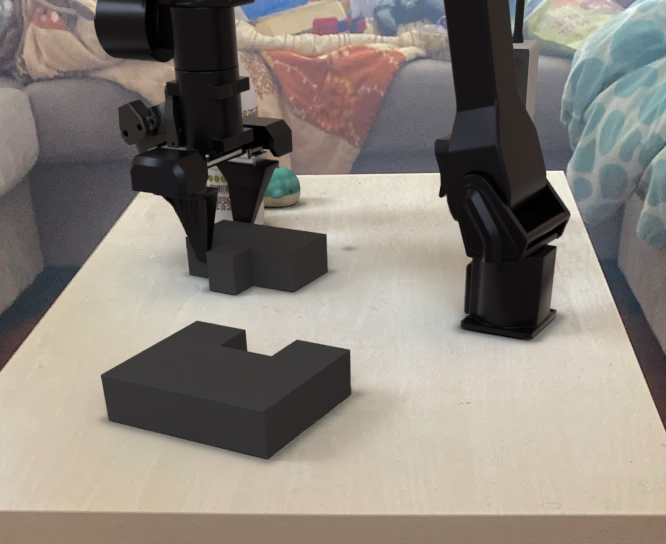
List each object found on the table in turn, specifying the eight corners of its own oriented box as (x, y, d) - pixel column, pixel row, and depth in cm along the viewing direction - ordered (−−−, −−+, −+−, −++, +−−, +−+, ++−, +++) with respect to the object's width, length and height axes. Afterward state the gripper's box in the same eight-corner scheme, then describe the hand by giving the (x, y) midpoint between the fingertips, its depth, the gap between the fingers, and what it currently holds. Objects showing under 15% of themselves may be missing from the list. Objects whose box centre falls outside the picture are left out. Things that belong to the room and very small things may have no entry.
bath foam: (265, 234, 111) (250, 9, 98) (200, 237, 111) (177, 12, 98) (265, 216, 116) (251, 0, 103) (203, 219, 116) (181, 3, 103)
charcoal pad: (351, 394, 79) (350, 349, 77) (267, 459, 71) (263, 411, 69) (201, 363, 85) (196, 319, 82) (108, 420, 77) (99, 374, 75)
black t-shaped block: (328, 271, 101) (327, 233, 99) (276, 302, 95) (274, 262, 93) (226, 255, 106) (223, 219, 104) (171, 284, 100) (166, 245, 97)
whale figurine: (308, 207, 119) (306, 170, 116) (247, 215, 117) (244, 178, 114) (291, 194, 123) (289, 159, 120) (232, 202, 121) (229, 166, 118)
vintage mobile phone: (479, 235, 109) (498, -63, 93) (490, 221, 112) (509, -68, 96) (515, 237, 108) (539, -63, 92) (524, 224, 111) (549, -68, 95)
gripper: (193, 45, 101) (210, 217, 111) (66, 79, 89) (98, 268, 99) (291, 51, 97) (299, 229, 107) (171, 87, 85) (193, 285, 95)
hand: (223, 251), depth 102 cm, fingers closed on black t-shaped block, 6 cm apart
